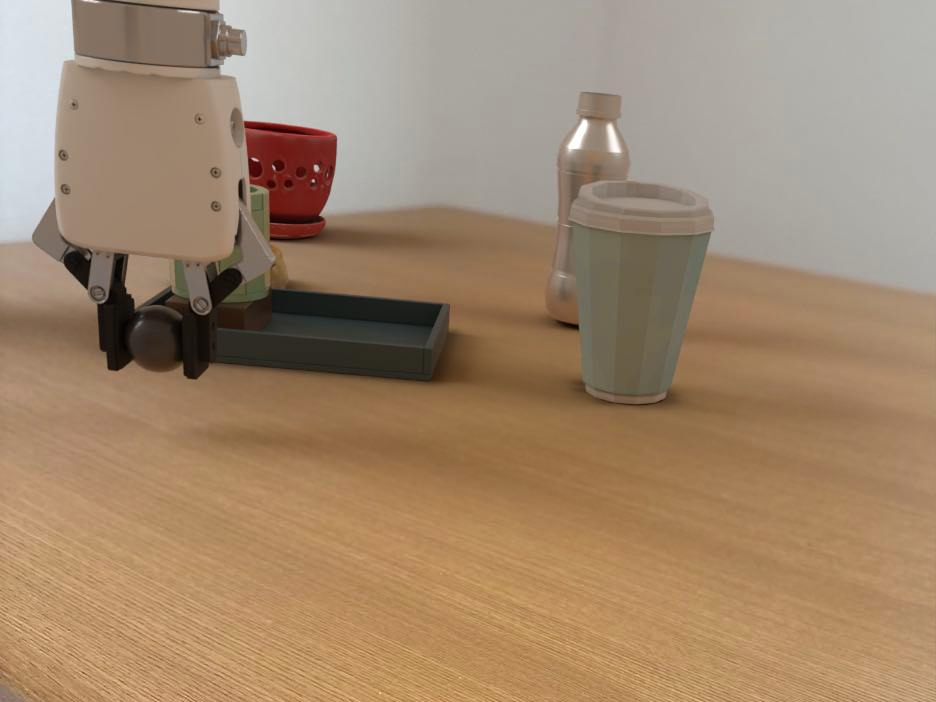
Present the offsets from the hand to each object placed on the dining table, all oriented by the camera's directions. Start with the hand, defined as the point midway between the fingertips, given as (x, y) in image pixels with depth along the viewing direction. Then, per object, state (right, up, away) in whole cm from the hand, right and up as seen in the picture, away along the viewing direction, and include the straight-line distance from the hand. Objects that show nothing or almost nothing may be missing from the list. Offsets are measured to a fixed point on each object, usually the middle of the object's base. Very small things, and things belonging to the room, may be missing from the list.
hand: (159, 365), depth 69 cm
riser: (-3, +6, +22) cm, 23 cm away
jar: (-2, +9, +21) cm, 23 cm away
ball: (0, +1, -1) cm, 2 cm away
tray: (+3, +5, +22) cm, 23 cm away
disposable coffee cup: (+29, 0, +18) cm, 34 cm away
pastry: (-5, +13, +39) cm, 41 cm away
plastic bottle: (+27, +9, +37) cm, 46 cm away
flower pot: (-8, +26, +65) cm, 70 cm away
